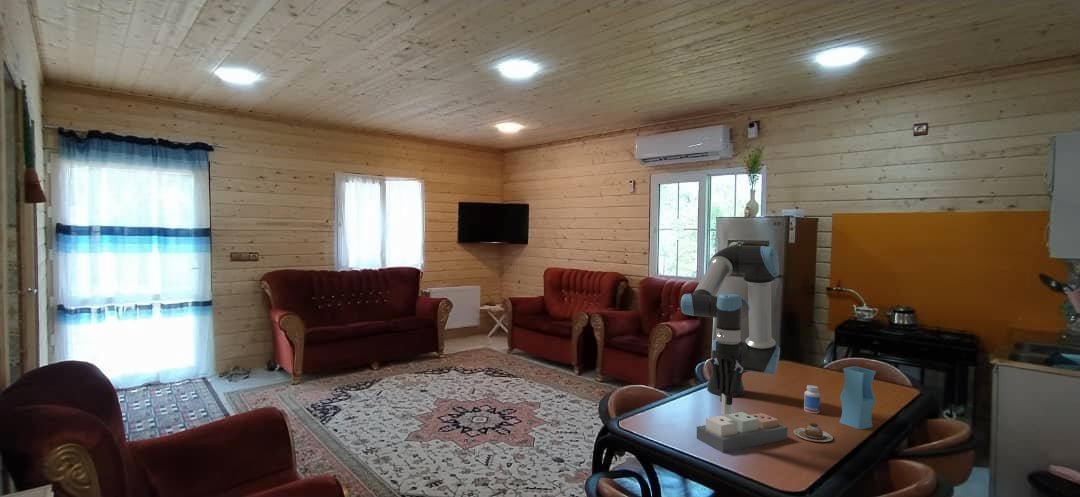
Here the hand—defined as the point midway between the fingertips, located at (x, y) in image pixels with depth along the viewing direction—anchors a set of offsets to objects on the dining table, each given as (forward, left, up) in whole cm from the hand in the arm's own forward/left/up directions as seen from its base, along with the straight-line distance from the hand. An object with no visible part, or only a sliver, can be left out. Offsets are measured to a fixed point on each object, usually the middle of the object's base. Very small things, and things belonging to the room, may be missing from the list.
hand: (725, 413), depth 172 cm
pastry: (+7, +32, -10) cm, 34 cm away
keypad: (0, +8, -10) cm, 12 cm away
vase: (+6, +57, -10) cm, 58 cm away
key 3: (0, +17, -8) cm, 18 cm away
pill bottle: (-10, +54, -10) cm, 55 cm away
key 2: (0, +8, -6) cm, 10 cm away
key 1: (0, -1, -6) cm, 6 cm away
